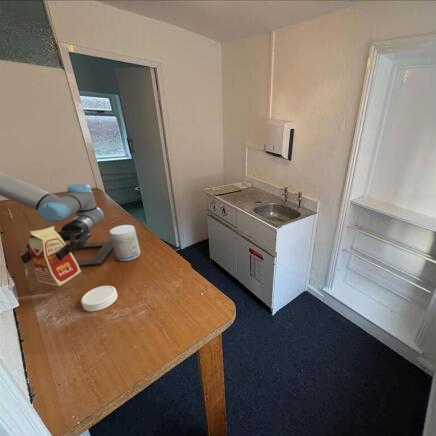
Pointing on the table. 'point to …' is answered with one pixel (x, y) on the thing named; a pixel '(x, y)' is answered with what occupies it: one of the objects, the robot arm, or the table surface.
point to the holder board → (99, 257)
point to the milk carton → (51, 258)
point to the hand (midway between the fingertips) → (41, 258)
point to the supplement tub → (125, 242)
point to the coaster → (99, 298)
